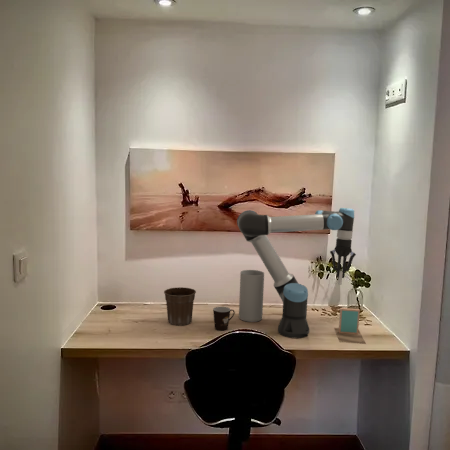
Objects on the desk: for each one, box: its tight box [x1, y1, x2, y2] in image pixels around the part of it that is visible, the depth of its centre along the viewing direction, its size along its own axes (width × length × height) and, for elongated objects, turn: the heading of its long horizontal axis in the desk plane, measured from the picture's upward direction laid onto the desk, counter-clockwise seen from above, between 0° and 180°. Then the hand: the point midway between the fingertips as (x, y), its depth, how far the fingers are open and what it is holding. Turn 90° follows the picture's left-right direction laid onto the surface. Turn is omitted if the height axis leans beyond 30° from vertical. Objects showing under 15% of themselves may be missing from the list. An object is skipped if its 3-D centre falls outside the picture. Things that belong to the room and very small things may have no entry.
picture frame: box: [338, 307, 361, 334], centre depth 221 cm, size 2×9×12 cm, turn 84°
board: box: [333, 327, 367, 345], centre depth 219 cm, size 19×12×1 cm, turn 174°
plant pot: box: [163, 287, 197, 326], centre depth 232 cm, size 16×16×16 cm
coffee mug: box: [212, 306, 236, 332], centre depth 225 cm, size 12×9×10 cm
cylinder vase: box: [238, 269, 265, 323], centre depth 240 cm, size 12×12×25 cm
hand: (339, 283), depth 233 cm, fingers closed
